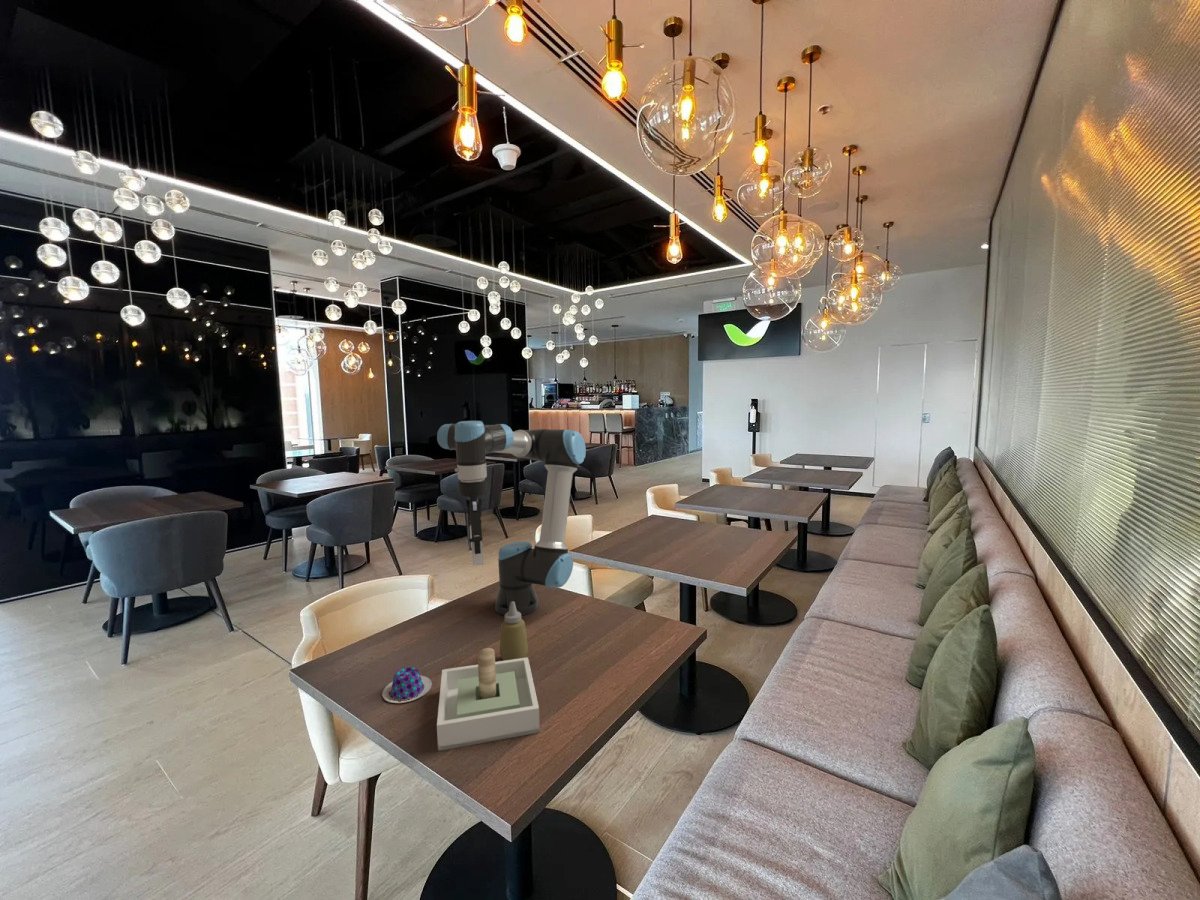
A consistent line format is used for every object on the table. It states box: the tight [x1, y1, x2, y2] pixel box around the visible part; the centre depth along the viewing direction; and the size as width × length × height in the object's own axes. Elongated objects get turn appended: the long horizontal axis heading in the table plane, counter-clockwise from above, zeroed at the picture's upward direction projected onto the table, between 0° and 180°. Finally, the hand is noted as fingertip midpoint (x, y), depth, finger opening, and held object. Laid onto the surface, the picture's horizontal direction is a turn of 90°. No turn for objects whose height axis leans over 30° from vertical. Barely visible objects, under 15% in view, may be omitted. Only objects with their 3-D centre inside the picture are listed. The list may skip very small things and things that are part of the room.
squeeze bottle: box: [499, 601, 529, 661], centre depth 140 cm, size 8×8×18 cm
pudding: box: [381, 666, 432, 704], centre depth 128 cm, size 12×12×5 cm
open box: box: [436, 656, 541, 752], centre depth 120 cm, size 22×22×6 cm
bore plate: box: [457, 671, 520, 719], centre depth 120 cm, size 14×14×4 cm
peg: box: [477, 647, 496, 700], centre depth 119 cm, size 4×4×14 cm
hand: (477, 555), depth 135 cm, fingers open, 13 cm apart
